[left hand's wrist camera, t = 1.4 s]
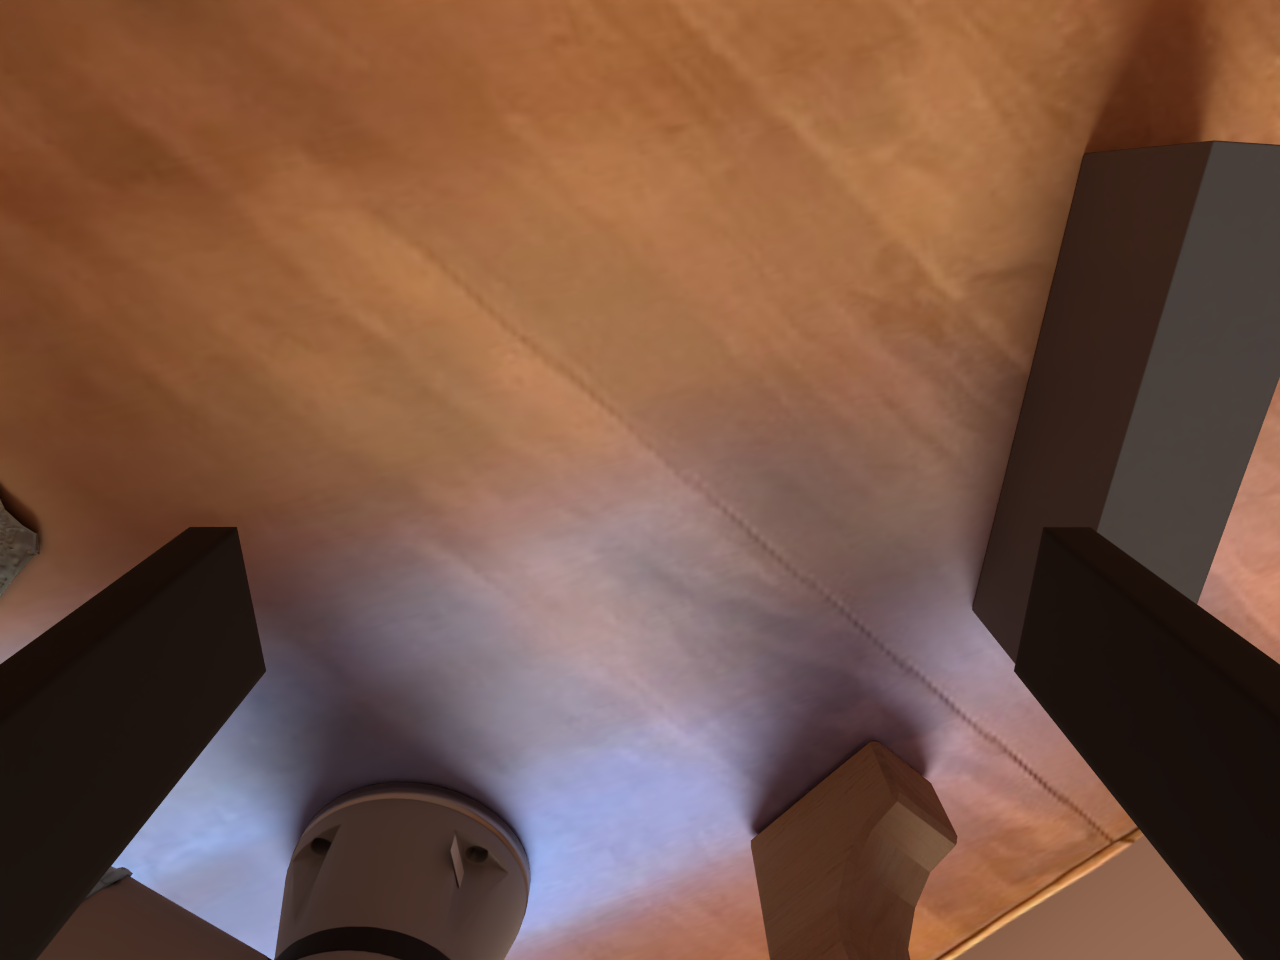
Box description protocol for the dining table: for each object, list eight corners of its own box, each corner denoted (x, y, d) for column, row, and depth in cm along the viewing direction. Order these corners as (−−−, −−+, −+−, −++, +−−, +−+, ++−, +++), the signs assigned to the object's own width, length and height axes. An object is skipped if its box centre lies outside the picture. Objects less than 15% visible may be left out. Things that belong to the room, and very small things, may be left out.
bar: (1065, 615, 43) (1159, 708, 35) (971, 610, 43) (1045, 702, 35) (1199, 161, 35) (1363, 150, 27) (1083, 153, 34) (1213, 140, 27)
